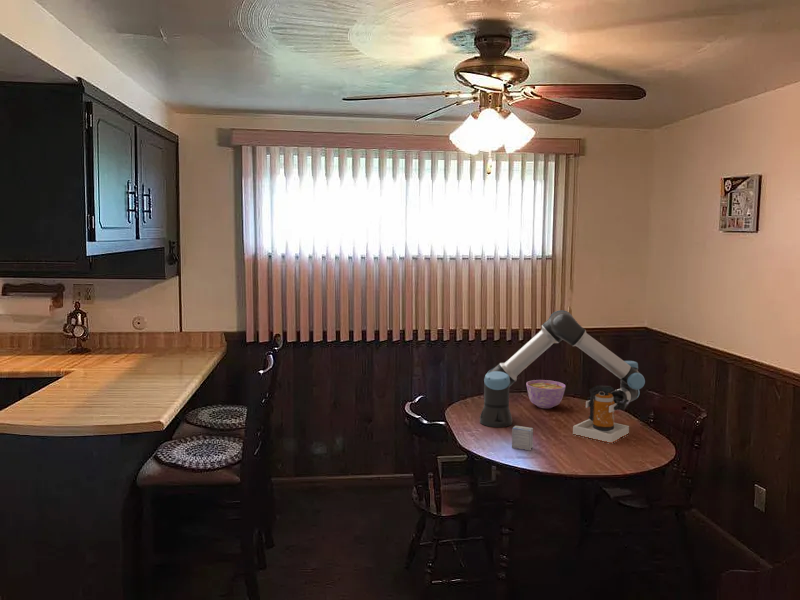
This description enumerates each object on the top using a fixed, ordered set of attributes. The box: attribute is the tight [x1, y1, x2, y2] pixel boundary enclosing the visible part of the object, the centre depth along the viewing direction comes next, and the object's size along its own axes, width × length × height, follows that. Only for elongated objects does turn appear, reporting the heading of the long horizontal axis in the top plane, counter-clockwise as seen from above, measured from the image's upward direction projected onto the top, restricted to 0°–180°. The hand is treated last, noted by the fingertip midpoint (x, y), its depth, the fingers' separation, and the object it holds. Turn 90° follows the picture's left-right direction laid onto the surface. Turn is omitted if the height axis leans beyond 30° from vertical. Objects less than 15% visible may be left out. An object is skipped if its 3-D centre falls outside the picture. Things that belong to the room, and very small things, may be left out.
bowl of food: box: [526, 379, 566, 409], centre depth 341 cm, size 20×20×12 cm
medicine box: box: [511, 425, 534, 451], centre depth 277 cm, size 8×4×9 cm, turn 65°
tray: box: [572, 418, 630, 442], centre depth 296 cm, size 18×18×4 cm
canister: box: [588, 384, 615, 431], centre depth 295 cm, size 9×11×20 cm
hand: (597, 407), depth 292 cm, fingers closed on canister, 10 cm apart
